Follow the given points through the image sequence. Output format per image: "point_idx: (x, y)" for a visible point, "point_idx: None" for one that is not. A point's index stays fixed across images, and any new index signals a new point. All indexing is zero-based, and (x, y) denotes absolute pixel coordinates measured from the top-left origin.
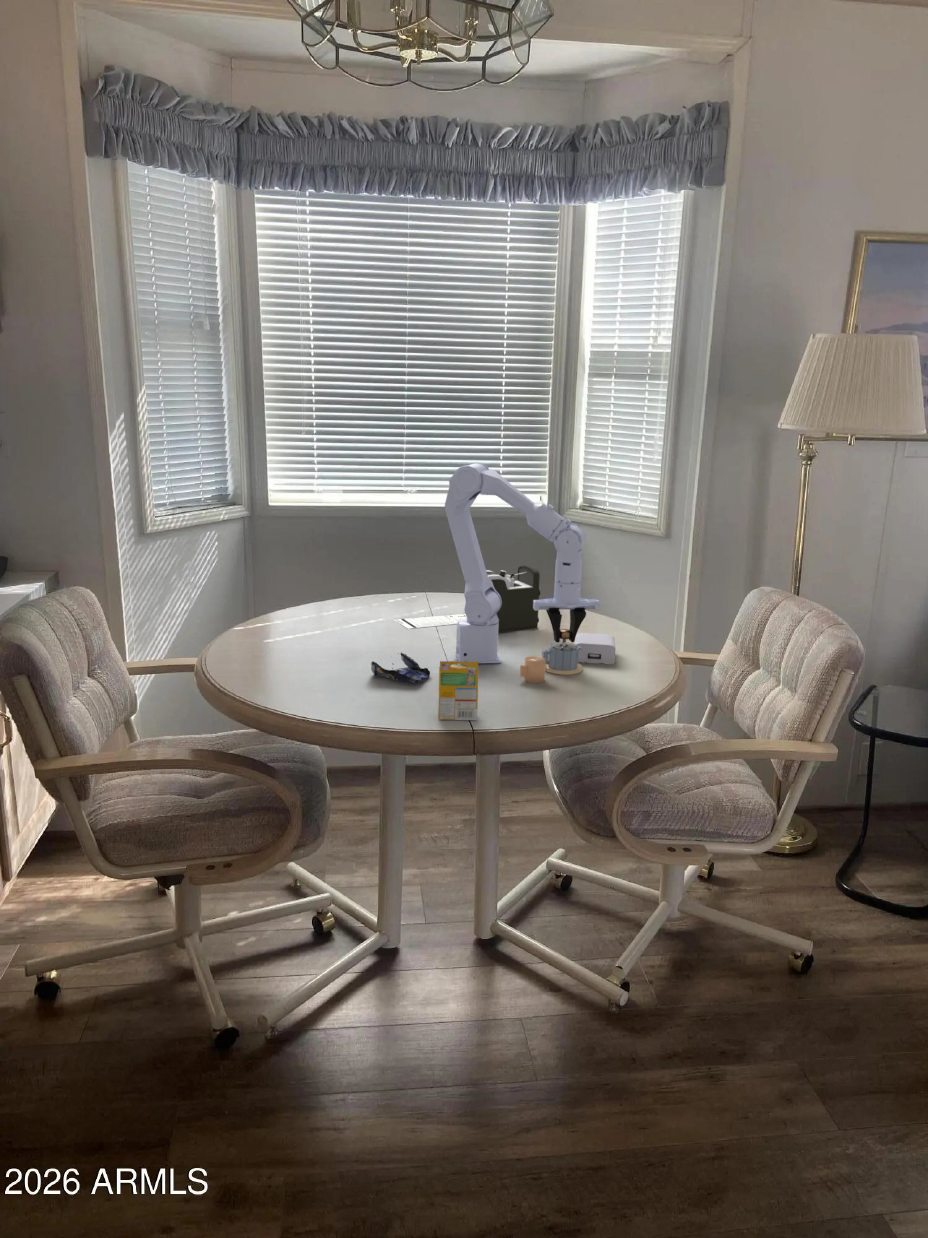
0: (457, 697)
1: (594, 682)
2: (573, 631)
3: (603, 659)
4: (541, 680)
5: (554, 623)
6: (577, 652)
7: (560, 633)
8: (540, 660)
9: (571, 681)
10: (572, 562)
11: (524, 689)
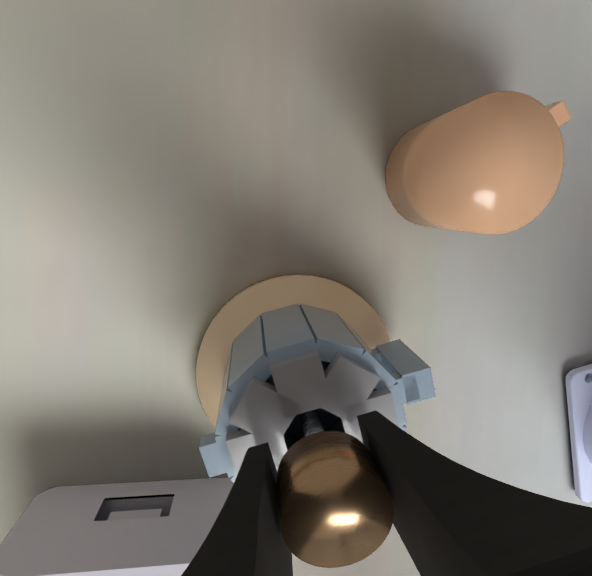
0: None
1: (129, 187)
2: (260, 494)
3: (90, 500)
4: (407, 133)
5: (497, 482)
6: (222, 397)
7: (372, 466)
8: (471, 143)
9: (251, 181)
10: None
11: (491, 7)
